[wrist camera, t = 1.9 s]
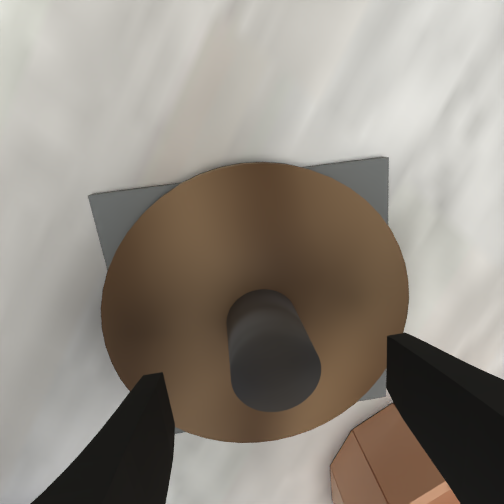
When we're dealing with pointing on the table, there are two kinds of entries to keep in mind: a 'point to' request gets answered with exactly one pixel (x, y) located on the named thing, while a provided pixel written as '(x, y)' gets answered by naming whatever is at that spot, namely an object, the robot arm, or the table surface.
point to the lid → (256, 300)
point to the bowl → (386, 466)
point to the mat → (140, 199)
